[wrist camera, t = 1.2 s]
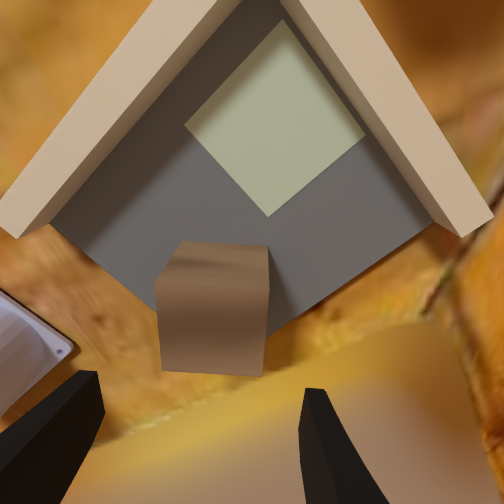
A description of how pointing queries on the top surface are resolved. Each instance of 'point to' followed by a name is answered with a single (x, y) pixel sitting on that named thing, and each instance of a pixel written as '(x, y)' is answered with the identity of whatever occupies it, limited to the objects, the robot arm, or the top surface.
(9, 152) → the top surface
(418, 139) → the grey corner tray
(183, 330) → the walnut cube
